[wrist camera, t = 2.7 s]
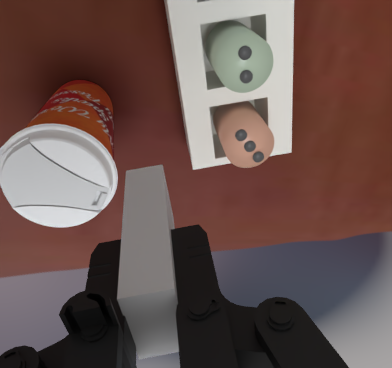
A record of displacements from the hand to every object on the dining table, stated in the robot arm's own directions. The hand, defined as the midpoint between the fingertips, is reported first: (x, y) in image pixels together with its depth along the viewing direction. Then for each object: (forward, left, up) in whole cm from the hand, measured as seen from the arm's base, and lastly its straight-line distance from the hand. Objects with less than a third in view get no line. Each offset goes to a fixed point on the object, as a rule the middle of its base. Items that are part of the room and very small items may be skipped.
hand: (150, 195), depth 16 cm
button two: (0, +8, -21) cm, 22 cm away
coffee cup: (+4, -7, -25) cm, 26 cm away
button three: (+7, +8, -21) cm, 23 cm away
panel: (0, +8, -24) cm, 25 cm away
